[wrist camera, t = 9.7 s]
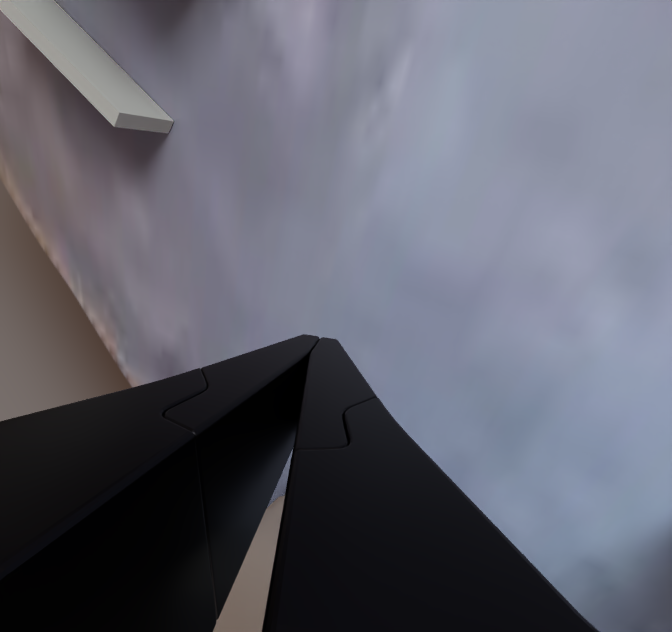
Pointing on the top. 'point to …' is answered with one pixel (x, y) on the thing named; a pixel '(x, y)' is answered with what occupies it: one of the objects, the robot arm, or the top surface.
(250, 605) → the light bulb
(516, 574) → the robot arm
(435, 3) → the top surface
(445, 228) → the top surface
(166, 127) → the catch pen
